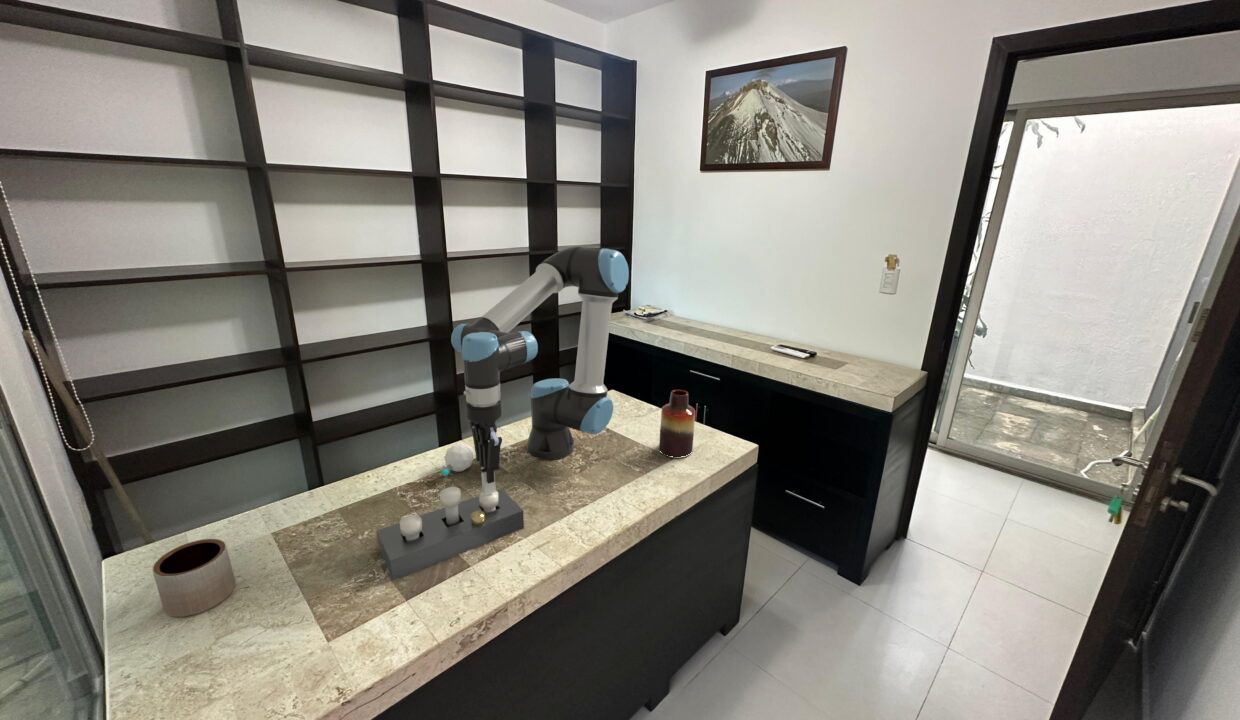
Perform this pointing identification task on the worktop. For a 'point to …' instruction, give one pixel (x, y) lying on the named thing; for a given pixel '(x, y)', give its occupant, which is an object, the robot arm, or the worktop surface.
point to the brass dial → (477, 518)
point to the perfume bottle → (457, 459)
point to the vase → (677, 425)
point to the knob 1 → (411, 527)
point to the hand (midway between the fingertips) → (489, 491)
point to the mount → (447, 535)
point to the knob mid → (451, 504)
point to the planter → (194, 577)
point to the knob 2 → (489, 501)
